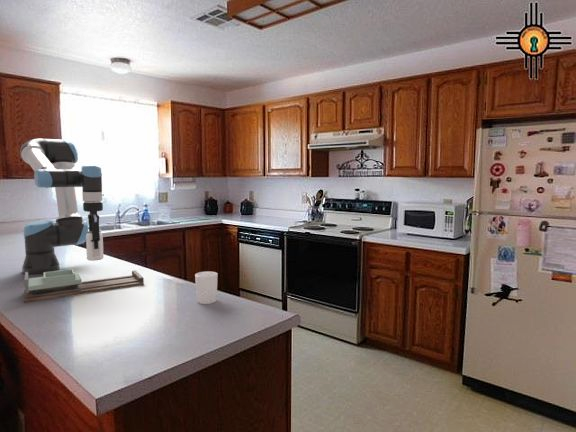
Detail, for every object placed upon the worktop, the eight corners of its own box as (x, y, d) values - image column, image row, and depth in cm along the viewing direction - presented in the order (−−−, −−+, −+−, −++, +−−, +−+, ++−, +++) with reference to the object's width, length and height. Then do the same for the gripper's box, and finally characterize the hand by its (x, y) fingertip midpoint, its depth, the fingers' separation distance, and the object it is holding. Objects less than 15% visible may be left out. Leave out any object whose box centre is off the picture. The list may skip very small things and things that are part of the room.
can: (96, 261, 165) (95, 233, 164) (83, 260, 166) (82, 232, 165) (106, 257, 171) (105, 231, 170) (93, 256, 173) (92, 230, 171)
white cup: (221, 299, 142) (221, 272, 141) (210, 305, 134) (210, 277, 133) (203, 296, 144) (202, 270, 143) (191, 303, 137) (190, 275, 136)
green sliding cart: (26, 287, 150) (25, 272, 149) (78, 280, 160) (77, 266, 159) (25, 296, 139) (24, 279, 138) (82, 288, 149) (81, 272, 148)
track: (25, 292, 151) (24, 284, 150) (135, 276, 173) (135, 270, 173) (24, 302, 138) (23, 294, 138) (143, 284, 160) (143, 277, 160)
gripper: (106, 203, 160) (108, 258, 163) (99, 199, 176) (101, 249, 179) (85, 204, 156) (88, 260, 159) (80, 200, 172) (83, 251, 175)
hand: (95, 254), depth 169 cm, fingers closed on can, 6 cm apart
